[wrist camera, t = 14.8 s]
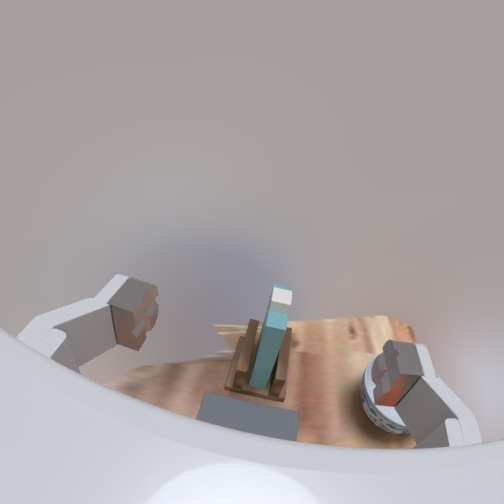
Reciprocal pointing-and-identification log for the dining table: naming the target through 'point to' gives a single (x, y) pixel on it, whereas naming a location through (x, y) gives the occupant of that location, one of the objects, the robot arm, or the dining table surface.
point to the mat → (249, 417)
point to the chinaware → (380, 414)
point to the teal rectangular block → (271, 335)
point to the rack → (244, 365)
